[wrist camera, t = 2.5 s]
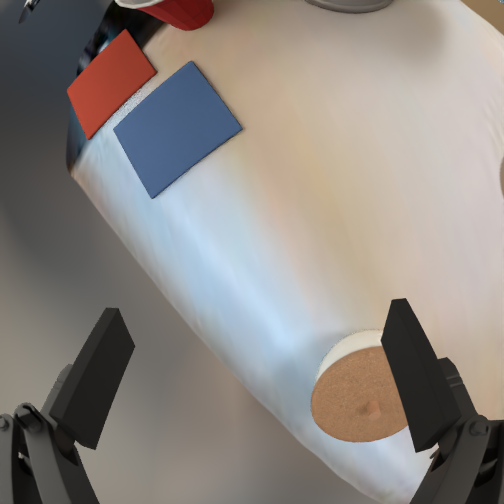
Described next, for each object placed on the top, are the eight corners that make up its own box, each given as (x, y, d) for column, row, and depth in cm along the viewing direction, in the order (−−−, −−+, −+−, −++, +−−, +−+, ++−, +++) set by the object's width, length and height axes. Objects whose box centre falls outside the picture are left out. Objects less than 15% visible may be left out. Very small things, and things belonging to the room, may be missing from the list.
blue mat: (114, 129, 34) (112, 129, 34) (192, 61, 30) (190, 60, 30) (152, 198, 35) (151, 198, 34) (242, 129, 31) (241, 128, 30)
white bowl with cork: (326, 305, 33) (327, 354, 22) (423, 319, 30) (456, 367, 20) (305, 389, 35) (296, 449, 25) (391, 399, 33) (404, 456, 22)
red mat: (68, 91, 35) (66, 90, 34) (126, 29, 31) (125, 28, 30) (89, 140, 35) (87, 139, 35) (157, 73, 31) (155, 72, 31)
